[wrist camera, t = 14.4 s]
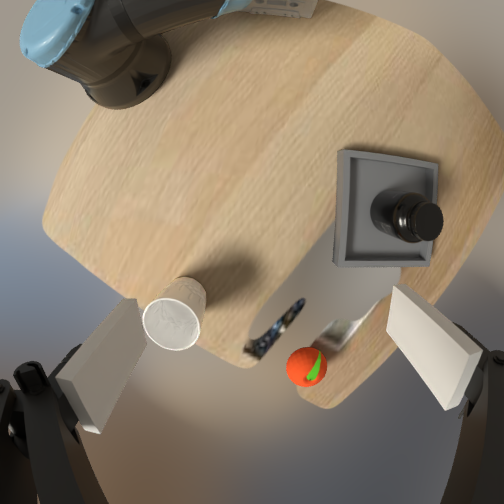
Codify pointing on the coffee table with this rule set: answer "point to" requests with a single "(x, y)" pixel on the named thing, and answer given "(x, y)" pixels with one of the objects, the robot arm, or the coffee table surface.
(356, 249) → the tray
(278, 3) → the cassette
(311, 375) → the clementine
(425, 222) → the supplement bottle
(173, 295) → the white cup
